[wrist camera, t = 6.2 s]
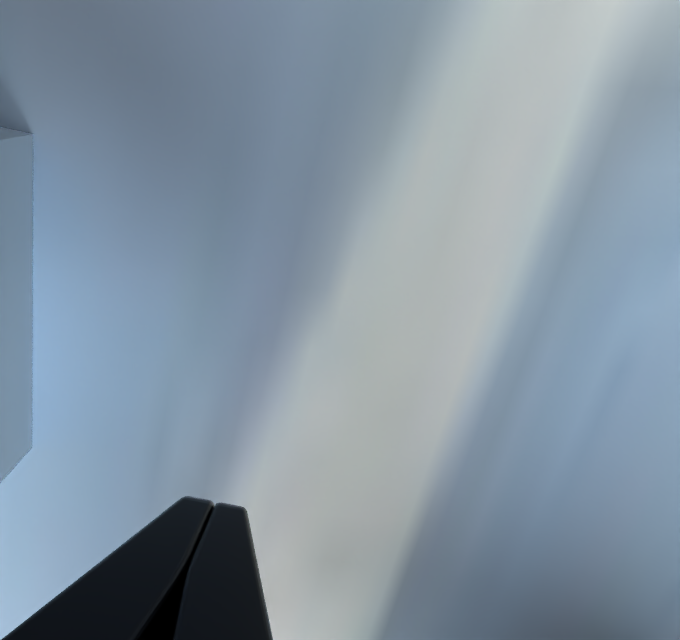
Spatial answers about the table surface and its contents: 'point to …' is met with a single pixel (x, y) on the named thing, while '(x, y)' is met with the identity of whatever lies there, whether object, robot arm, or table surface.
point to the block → (15, 296)
